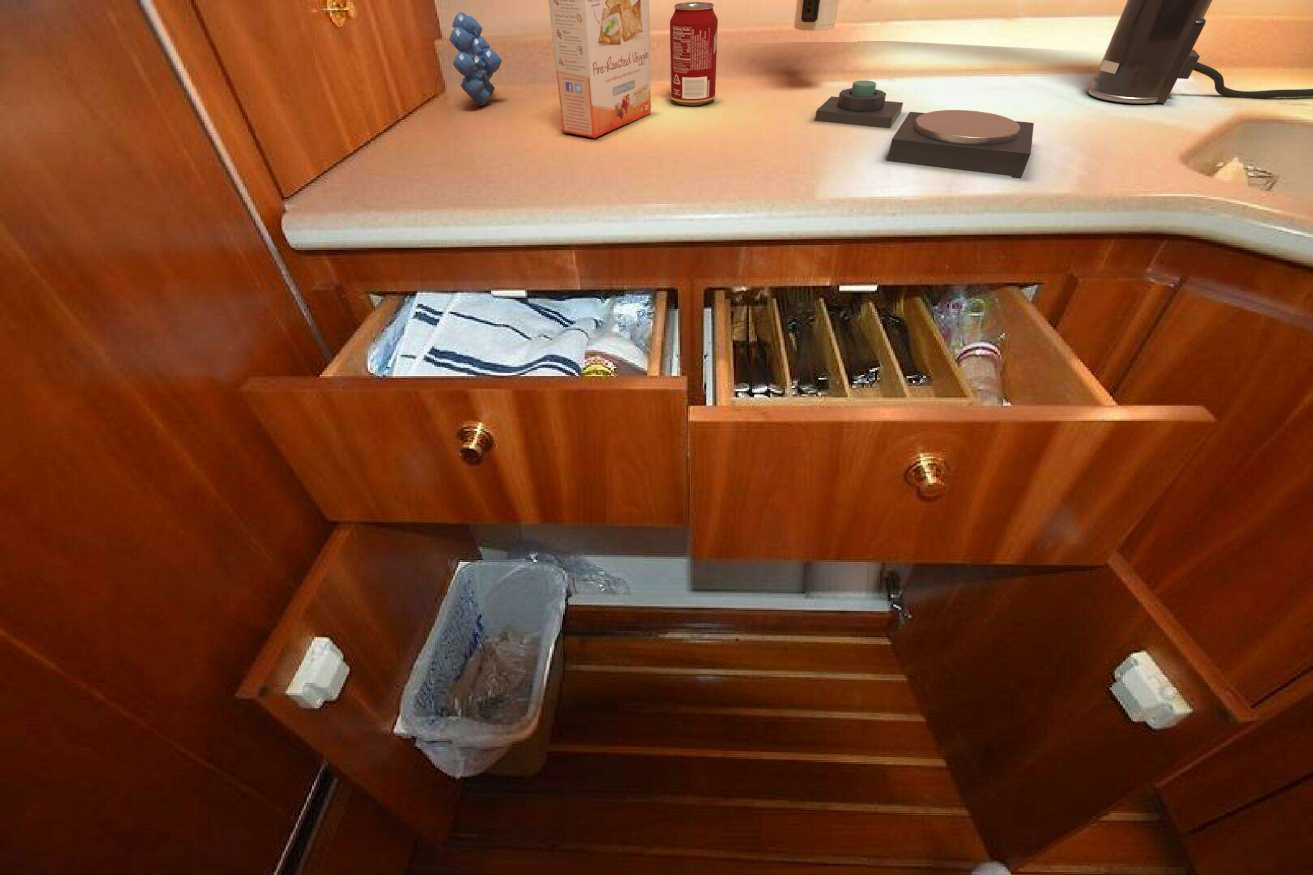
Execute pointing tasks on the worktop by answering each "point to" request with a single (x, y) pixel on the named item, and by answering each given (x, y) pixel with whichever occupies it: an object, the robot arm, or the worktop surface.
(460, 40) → the grapes
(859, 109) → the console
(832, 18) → the cup
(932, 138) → the scale
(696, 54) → the soda can
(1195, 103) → the worktop surface
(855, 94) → the button
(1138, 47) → the robot arm
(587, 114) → the cracker box
